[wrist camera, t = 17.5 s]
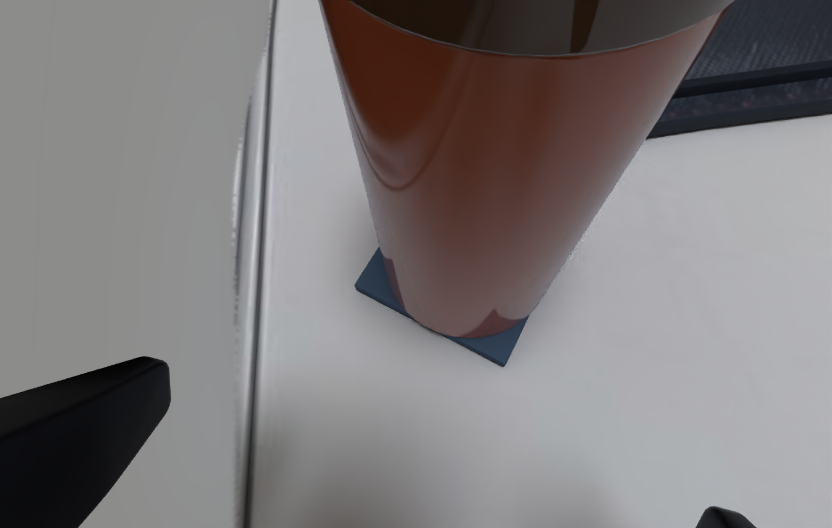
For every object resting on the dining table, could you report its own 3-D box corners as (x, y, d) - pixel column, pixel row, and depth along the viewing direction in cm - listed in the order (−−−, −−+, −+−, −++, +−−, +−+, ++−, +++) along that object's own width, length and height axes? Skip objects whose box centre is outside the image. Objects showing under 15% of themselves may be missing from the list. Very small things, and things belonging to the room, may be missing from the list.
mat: (503, 367, 16) (505, 365, 15) (355, 290, 17) (353, 285, 17) (569, 230, 18) (572, 224, 17) (431, 169, 19) (431, 162, 19)
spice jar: (589, 274, 17) (981, -207, 5) (452, 378, 15) (515, 79, 3) (479, 160, 19) (557, -372, 7) (350, 243, 17) (170, -232, 6)
